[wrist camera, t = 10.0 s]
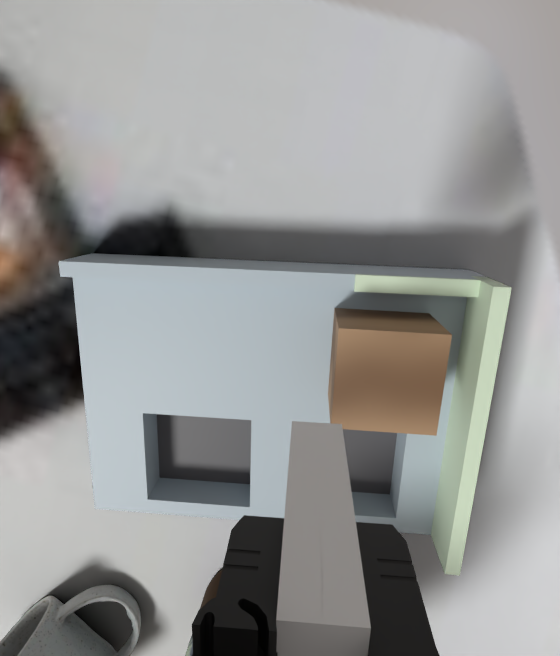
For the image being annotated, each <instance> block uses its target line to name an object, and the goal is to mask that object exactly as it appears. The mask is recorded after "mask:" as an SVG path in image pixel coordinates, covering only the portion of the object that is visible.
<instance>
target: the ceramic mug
mask: <svg viewBox="0 0 560 656" xmlns="http://www.w3.org/2000/svg"><path fill="white" fill-rule="evenodd" d="M99 601H114V602H119V603H120V604H122V605H123V606H124V607H125V609H126V611H127V616H128V617H129V618H130V619H131V621H132V627H133V632H132V633H131V635H130V637H129V639H128V640H127V641H126V643H125V644H124V646H123V647H122V648H121V649H120V650H119V651H118V652H116V651H115V649H114V648H113V647H112V646H111V645H110V644H109V643H108V642H107V641H106V640H104V639H103V638H102V637H101V636H99V635H98V634H97V633H96V632H94V631H93V630H92V629H91V628H90V627H89V626H88V625H87V624H86V623H85V622H84V621H82V620H81V619H80V618H79V617H78V616H77V615H76V614H75V613H73V612H75V611H76V610H78V609H79V608H81V607H83V606H85V605H87V604H90V603H94V602H99ZM140 628H141V613H140V609H139V606H138V604H137V602H136V600H135V599H134V598H133V597H132V596H131V595H130V594H129V593H128V592H127V591H125V590H124V589H123V588H121V587H118V586H115V585H98V586H95V587H91V588H89V589H86V590H85V591H83V592H81V593H80V594H78V595H76V596H75V597H73V598H72V599H70V600H69V601H68V602H67V603H66V604H63V603H62V602H60V601H59V600H58V599H57V598H55V597H54V596H47V597H45V598H43V599H42V600H40V601H39V602H37V603H36V604H35V605H34V606H33V607H32V608H31V609H29V610H28V611H27V612H26V614H24V615H23V616H22V617H21V619H20V620H19V621H18V622H17V623H16V624H15V625H14V626H13V627H12V628H11V630H10V631H9V632H8V633H7V635H6V636H5V637H4V638H3V639H2V640H1V641H0V656H130V654H131V653H132V652H133V650H134V648H135V646H136V643H137V641H138V638H139V634H140Z"/></svg>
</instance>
